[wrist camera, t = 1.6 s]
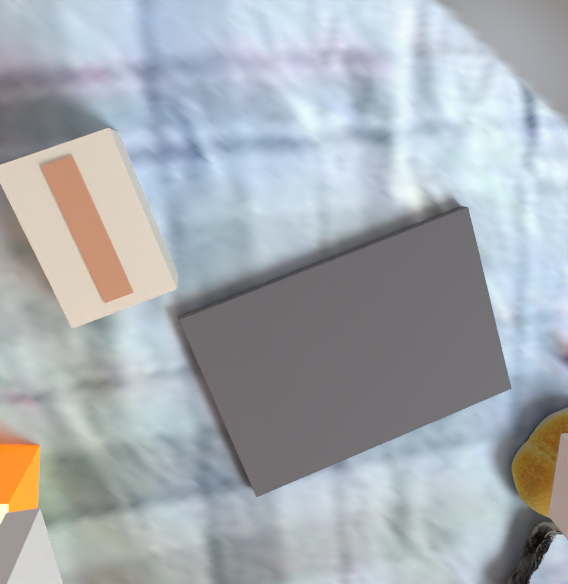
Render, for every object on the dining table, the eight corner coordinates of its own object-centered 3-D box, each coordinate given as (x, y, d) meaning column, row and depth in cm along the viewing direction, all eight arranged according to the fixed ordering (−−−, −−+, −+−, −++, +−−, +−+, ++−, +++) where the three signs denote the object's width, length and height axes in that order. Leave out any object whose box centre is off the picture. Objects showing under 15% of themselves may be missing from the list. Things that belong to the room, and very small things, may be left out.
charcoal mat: (255, 490, 36) (256, 497, 35) (179, 316, 32) (178, 320, 31) (504, 384, 38) (511, 388, 37) (461, 206, 34) (467, 207, 33)
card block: (86, 308, 31) (71, 329, 27) (18, 167, 29) (-9, 167, 25) (178, 274, 32) (176, 290, 28) (119, 132, 29) (108, 127, 25)
